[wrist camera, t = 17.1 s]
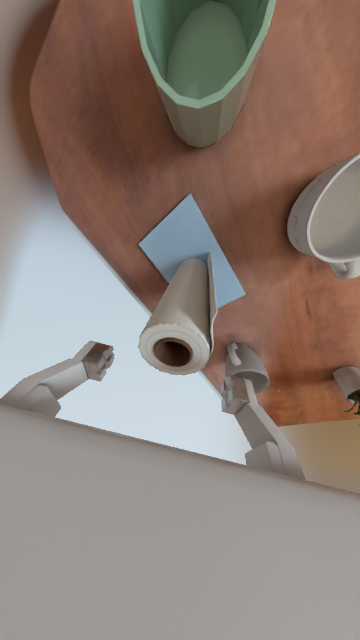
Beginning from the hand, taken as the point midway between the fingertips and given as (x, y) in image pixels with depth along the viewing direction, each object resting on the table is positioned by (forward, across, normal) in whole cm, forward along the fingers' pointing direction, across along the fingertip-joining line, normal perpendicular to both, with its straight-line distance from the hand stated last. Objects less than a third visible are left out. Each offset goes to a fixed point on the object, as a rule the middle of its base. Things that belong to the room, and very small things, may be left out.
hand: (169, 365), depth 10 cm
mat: (+24, 0, 0) cm, 24 cm away
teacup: (+24, -17, -11) cm, 31 cm away
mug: (+24, -16, +17) cm, 33 cm away
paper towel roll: (+23, -1, 0) cm, 23 cm away
